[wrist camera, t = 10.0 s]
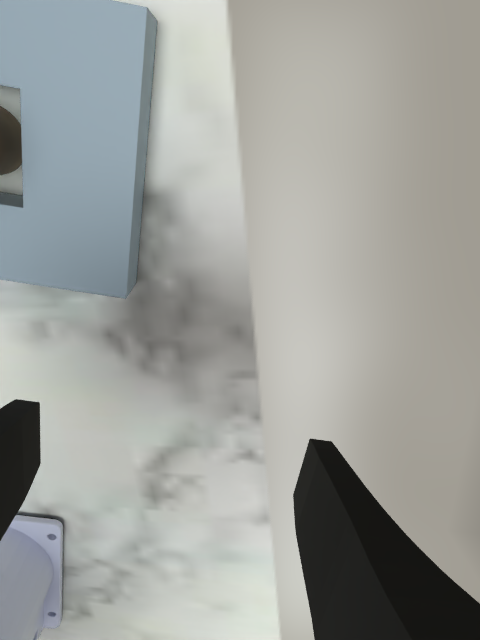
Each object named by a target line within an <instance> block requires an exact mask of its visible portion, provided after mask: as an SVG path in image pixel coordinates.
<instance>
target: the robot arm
mask: <svg viewBox="0 0 480 640" xmlns="http://www.w3.org/2000/svg"><path fill="white" fill-rule="evenodd" d="M39 466H40V403H39V402H32V401H24V400H17V399H15V400H14V401H12V402H10V403H9V404H7V405H5V406H4V407H2V408H1V409H0V640H38V639H39V637H40V634H41V631H42V629H43V628H57V627H59V626H60V623H61V620H62V560H63V525H62V523H61V522H60V521H58V520H55V519H47V518H39V517H30V516H21V515H16V514H17V512H18V511H19V509H20V507H21V505H22V504H23V502H24V500H25V498H26V496H27V494H28V491H29V489H30V487H31V485H32V482H33V480H34V478H35V475H36V473H37V471H38V468H39ZM293 497H294V515H295V528H296V536H297V542H298V547H299V552H300V559H301V564H302V569H303V574H304V580H305V585H306V591H307V596H308V600H309V607H310V612H311V617H312V623H313V630H314V637H315V640H480V604H479V603H478V602H477V601H476V600H475V599H474V598H472V597H471V596H470V595H469V594H468V593H467V592H466V591H464V590H463V589H462V588H461V587H460V586H458V585H457V584H456V583H455V582H454V581H453V580H452V579H451V578H450V577H448V576H447V575H446V574H445V573H444V572H443V571H442V570H441V569H440V568H439V567H438V566H437V565H436V564H435V563H434V562H433V561H432V560H431V559H430V558H429V557H428V556H426V554H425V553H424V552H423V551H421V549H419V547H417V545H416V544H415V543H414V542H413V541H412V540H411V539H410V538H409V537H408V536H407V535H406V534H405V533H404V532H403V530H401V528H400V527H399V526H398V525H397V524H396V523H395V521H394V520H393V519H392V518H391V517H390V516H389V515H388V514H387V512H386V511H385V510H384V509H383V508H382V507H381V505H380V504H379V503H378V502H377V500H376V499H375V498H374V497H373V495H372V494H371V493H370V492H369V490H368V489H367V488H366V487H365V485H364V484H363V483H362V481H361V480H360V479H359V477H358V476H357V475H356V473H355V472H354V471H353V469H352V468H351V467H350V465H349V464H348V463H347V461H346V460H345V459H344V457H343V456H342V455H341V453H340V452H339V451H338V449H337V448H336V447H335V445H334V444H333V443H332V442H331V441H324V440H316V439H310V440H309V443H308V447H307V450H306V453H305V457H304V460H303V464H302V467H301V470H300V474H299V477H298V481H297V484H296V488H295V491H294V494H293Z"/></svg>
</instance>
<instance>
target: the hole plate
mask: <svg viewBox="0 0 480 640" xmlns="http://www.w3.org/2000/svg"><path fill="white" fill-rule="evenodd" d="M156 31H157V20H156V19H155V17H154V16H153V15H152V13H151V12H150V11H149V9H148V8H147V7H142V6H137V5H132V4H128V3H123V2H118V1H113V0H0V85H3V86H8V87H14V88H19V89H20V100H21V137H22V175H23V196H21V195H15V194H9V193H3V192H0V279H1V280H7V281H14V282H20V283H27V284H33V285H40V286H46V287H53V288H59V289H66V290H72V291H79V292H85V293H92V294H98V295H105V296H111V297H118V298H124V299H126V298H127V297H128V295H129V293H130V292H131V290H132V288H133V287H134V285H135V284H136V279H137V266H138V254H139V242H140V229H141V217H142V204H143V192H144V180H145V167H146V155H147V142H148V130H149V118H150V105H151V93H152V80H153V68H154V56H155V43H156Z"/></svg>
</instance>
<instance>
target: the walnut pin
mask: <svg viewBox="0 0 480 640" xmlns="http://www.w3.org/2000/svg"><path fill="white" fill-rule="evenodd" d="M21 164H22V137H21V125H20V124H19V122H18V121H17V119H16V118H15V117H14V116H13V115H12V114H11V113H10V112H8V111H7V110H6V109H4V108H2V107H0V175H3V174H7V173H10V172H12V171H14V170H16V169H17V168H18V167H19V166H20V165H21Z"/></svg>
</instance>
